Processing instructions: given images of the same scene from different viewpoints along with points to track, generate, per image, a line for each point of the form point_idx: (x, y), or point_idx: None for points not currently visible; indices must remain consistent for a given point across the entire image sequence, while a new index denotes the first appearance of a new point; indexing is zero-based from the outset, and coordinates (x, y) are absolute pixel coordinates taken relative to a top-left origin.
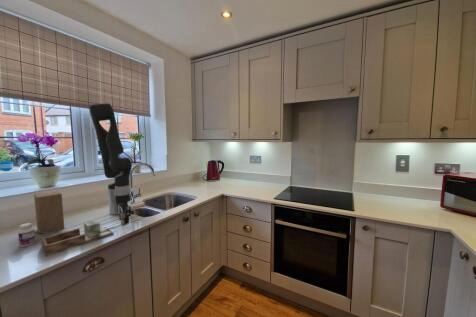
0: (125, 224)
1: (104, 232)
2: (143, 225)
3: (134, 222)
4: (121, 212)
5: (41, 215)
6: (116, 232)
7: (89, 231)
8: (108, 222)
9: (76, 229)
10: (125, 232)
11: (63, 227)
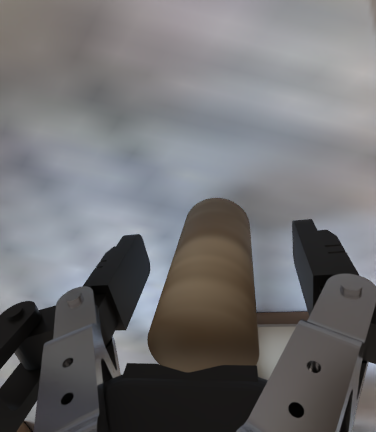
0: (248, 227)
1: (267, 358)
2: (345, 3)
3: (145, 90)
4: (161, 362)
5: None
6: (294, 286)
7: None
8: (24, 276)
9: None
10: (367, 236)
11: (22, 428)
